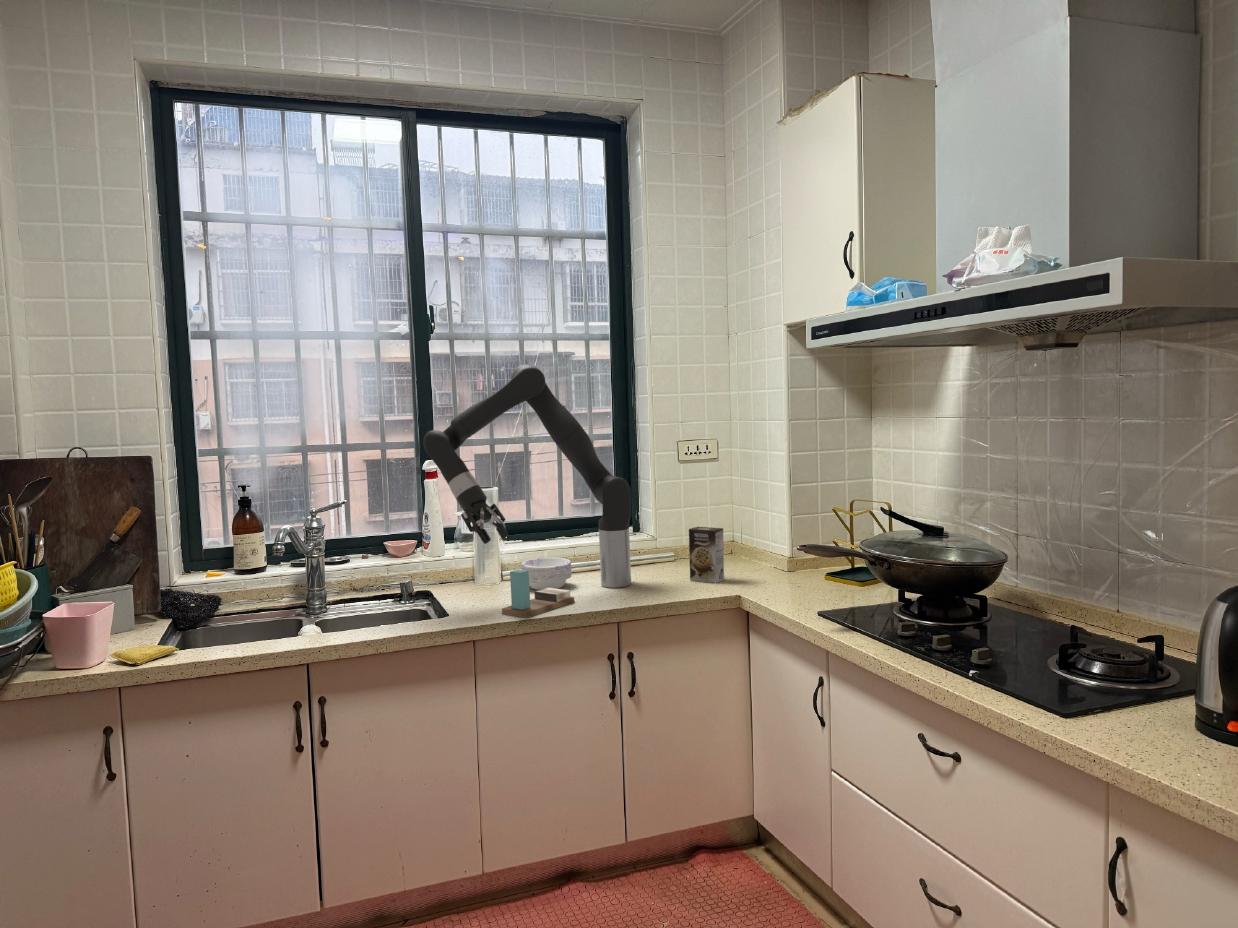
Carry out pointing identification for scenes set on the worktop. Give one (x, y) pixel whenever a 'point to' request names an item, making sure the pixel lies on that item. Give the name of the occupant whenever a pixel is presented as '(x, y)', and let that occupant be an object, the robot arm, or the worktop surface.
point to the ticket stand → (542, 602)
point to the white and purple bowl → (547, 572)
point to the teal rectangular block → (520, 589)
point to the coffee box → (706, 554)
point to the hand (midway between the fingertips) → (497, 539)
